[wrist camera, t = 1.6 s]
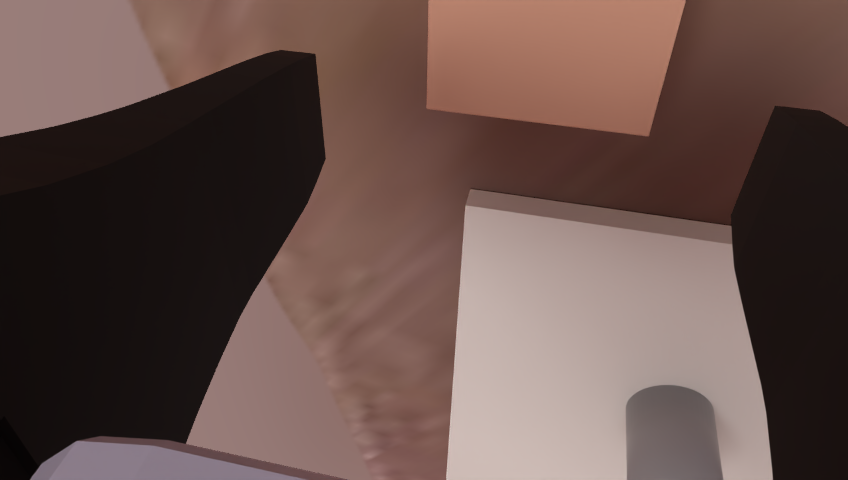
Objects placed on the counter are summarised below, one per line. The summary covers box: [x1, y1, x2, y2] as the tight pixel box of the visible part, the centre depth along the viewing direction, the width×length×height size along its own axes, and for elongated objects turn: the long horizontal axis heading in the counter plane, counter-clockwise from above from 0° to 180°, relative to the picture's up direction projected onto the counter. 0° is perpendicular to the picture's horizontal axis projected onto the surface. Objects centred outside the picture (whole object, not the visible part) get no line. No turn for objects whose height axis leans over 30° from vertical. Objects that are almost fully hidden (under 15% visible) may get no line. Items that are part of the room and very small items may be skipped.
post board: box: [446, 189, 773, 480], centre depth 25 cm, size 18×18×6 cm
